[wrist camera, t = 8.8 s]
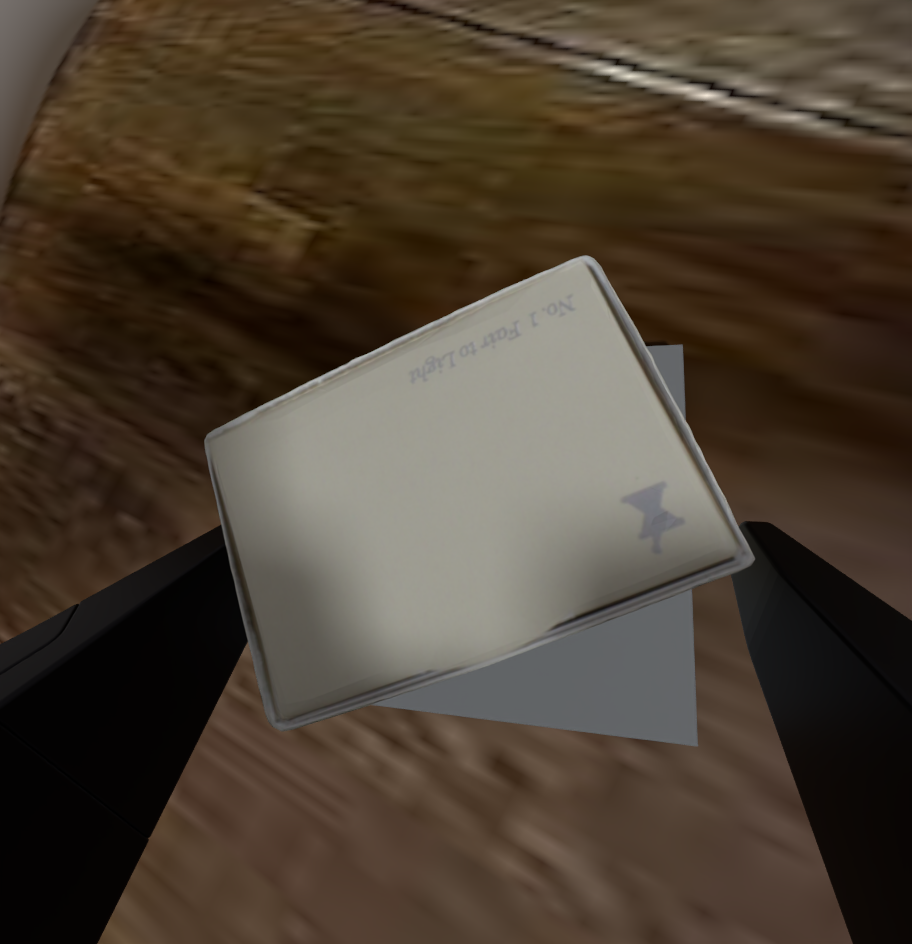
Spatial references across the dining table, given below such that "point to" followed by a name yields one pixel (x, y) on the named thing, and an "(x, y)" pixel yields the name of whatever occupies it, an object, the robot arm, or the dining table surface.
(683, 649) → the slate mat
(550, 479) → the skincare box
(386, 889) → the dining table surface
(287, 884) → the dining table surface
